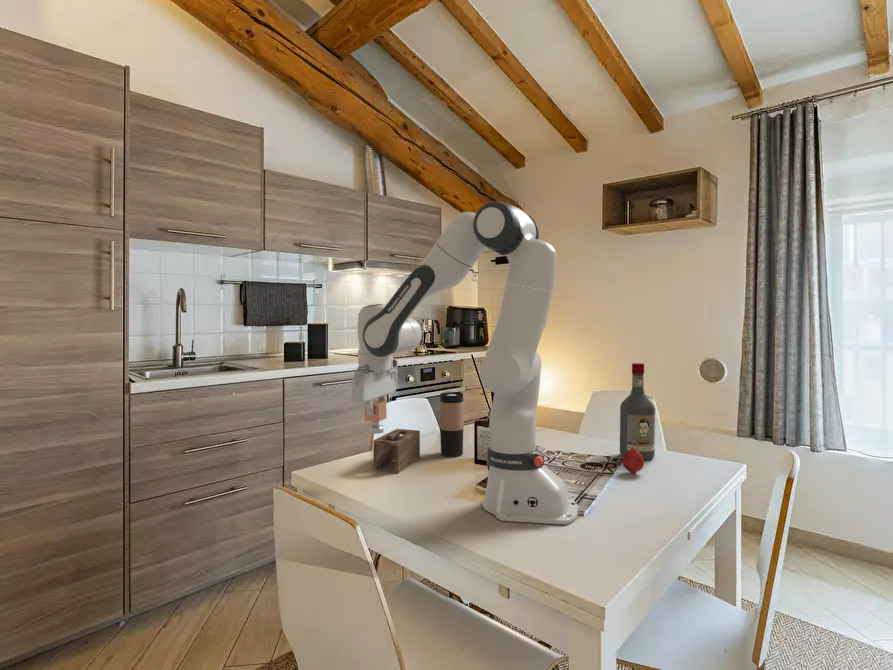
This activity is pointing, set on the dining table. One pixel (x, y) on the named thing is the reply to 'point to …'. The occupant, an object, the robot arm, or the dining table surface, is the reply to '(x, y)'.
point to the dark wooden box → (397, 449)
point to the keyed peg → (377, 416)
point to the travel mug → (451, 424)
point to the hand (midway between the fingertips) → (375, 413)
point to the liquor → (637, 418)
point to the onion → (633, 461)
